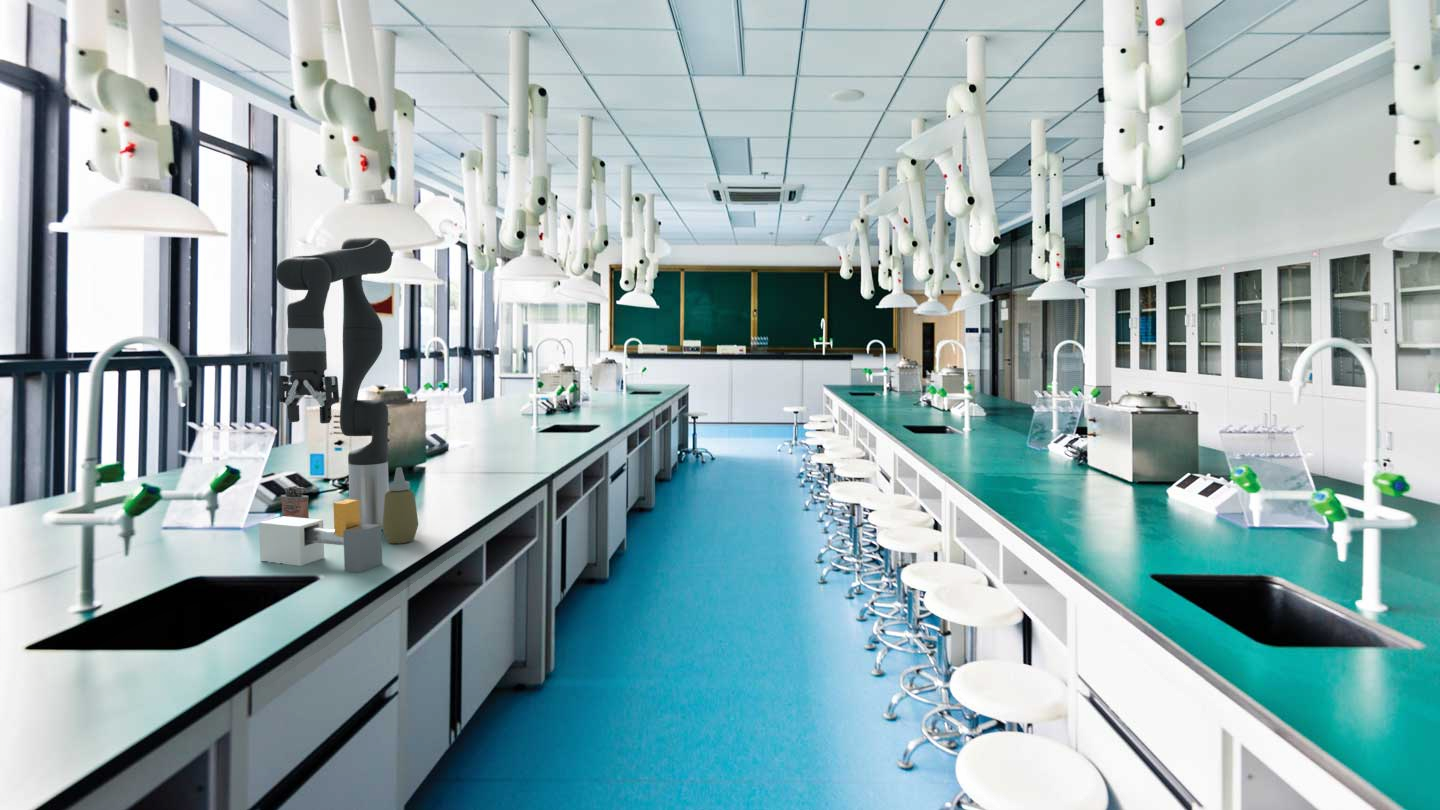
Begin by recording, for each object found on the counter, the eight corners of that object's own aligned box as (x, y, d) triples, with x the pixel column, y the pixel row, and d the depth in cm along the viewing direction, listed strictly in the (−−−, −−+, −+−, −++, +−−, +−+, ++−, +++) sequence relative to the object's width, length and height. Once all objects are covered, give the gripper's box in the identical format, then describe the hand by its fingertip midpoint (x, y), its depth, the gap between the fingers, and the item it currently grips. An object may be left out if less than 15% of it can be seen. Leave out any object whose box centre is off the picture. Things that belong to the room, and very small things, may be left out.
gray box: (344, 570, 155) (343, 530, 154) (367, 562, 161) (365, 523, 160) (360, 572, 154) (359, 532, 153) (382, 563, 160) (381, 524, 159)
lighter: (278, 524, 194) (276, 486, 193) (289, 521, 197) (287, 484, 197) (302, 526, 192) (300, 488, 191) (313, 523, 195) (311, 486, 194)
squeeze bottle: (408, 535, 184) (406, 463, 183) (425, 540, 179) (423, 467, 178) (376, 541, 178) (374, 467, 176) (392, 547, 173) (390, 471, 171)
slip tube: (293, 543, 160) (292, 499, 159) (308, 538, 163) (307, 495, 163) (362, 550, 155) (360, 505, 154) (375, 545, 158) (374, 501, 158)
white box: (260, 561, 161) (258, 522, 160) (284, 553, 167) (283, 516, 166) (300, 565, 158) (299, 526, 157) (324, 557, 164) (323, 519, 163)
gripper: (346, 349, 164) (348, 422, 165) (295, 349, 168) (297, 419, 169) (319, 349, 157) (322, 425, 158) (266, 349, 160) (269, 423, 162)
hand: (309, 422), depth 163 cm, fingers open, 8 cm apart
